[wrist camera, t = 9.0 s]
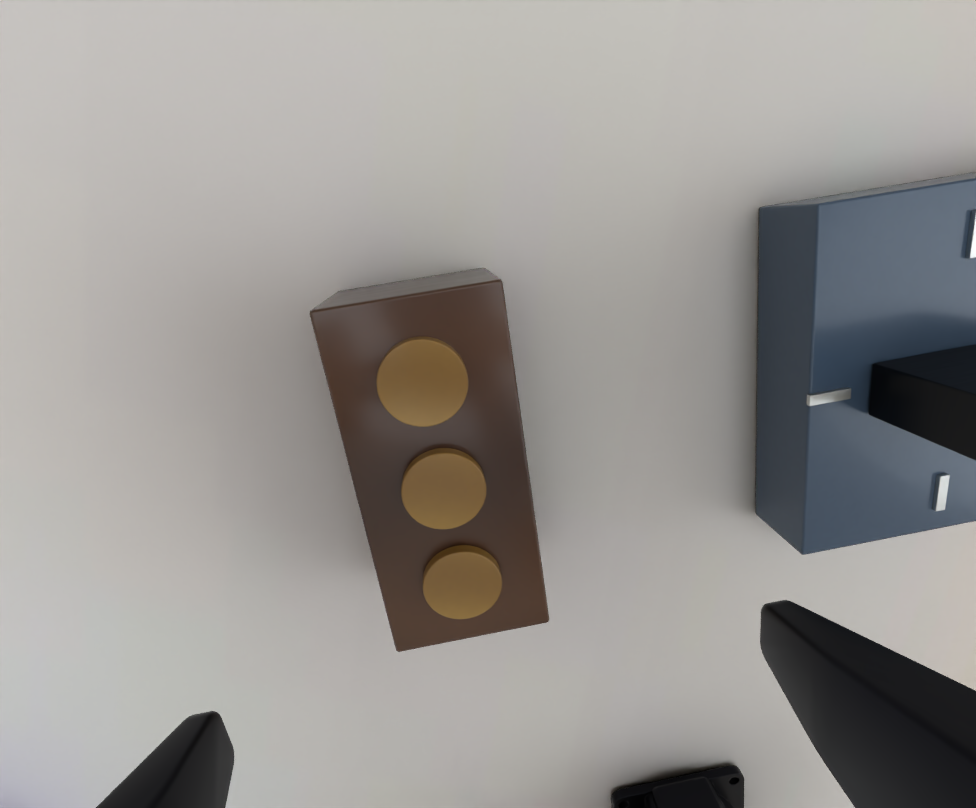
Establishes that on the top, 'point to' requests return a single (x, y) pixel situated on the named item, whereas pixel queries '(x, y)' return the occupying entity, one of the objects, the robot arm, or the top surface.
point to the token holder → (436, 452)
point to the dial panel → (859, 359)
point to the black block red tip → (929, 397)
